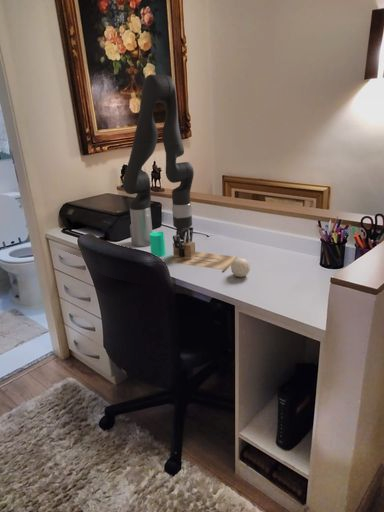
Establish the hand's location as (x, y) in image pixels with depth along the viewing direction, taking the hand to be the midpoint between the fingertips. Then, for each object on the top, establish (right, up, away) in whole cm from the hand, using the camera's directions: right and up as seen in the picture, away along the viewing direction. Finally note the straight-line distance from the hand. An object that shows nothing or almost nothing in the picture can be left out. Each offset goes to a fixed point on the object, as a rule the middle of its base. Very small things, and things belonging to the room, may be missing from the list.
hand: (184, 254), depth 157 cm
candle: (-11, -1, +5) cm, 12 cm away
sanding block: (0, -1, 0) cm, 1 cm away
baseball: (+21, -8, -17) cm, 28 cm away
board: (+7, -3, -3) cm, 8 cm away
